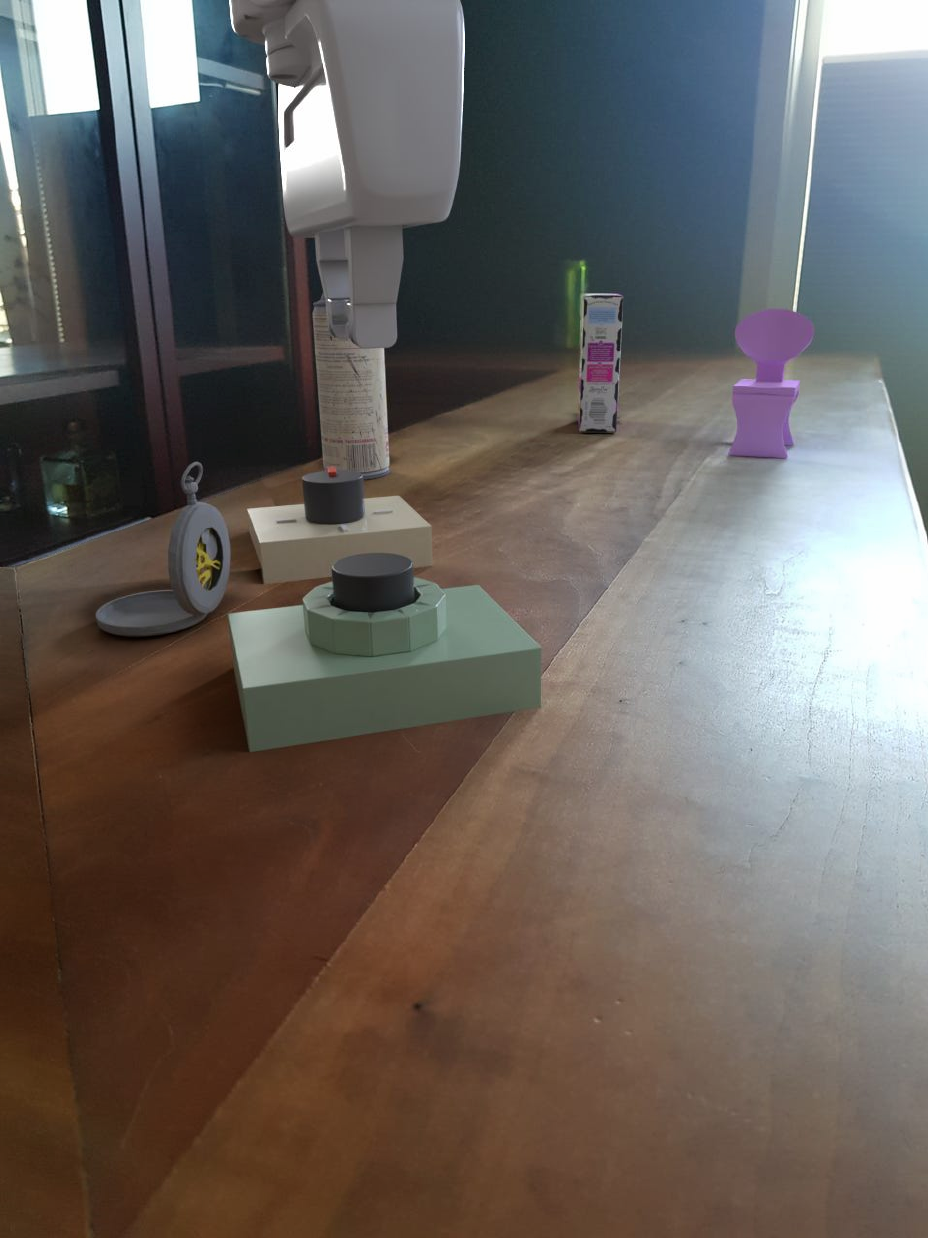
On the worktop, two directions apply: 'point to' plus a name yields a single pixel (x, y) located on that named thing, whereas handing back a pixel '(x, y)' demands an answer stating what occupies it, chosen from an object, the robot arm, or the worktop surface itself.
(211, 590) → the pocket watch
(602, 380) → the candy bar box
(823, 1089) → the worktop surface
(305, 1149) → the worktop surface
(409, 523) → the dial panel
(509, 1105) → the worktop surface
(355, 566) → the black push button
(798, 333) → the toy chair
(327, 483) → the dial
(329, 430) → the aerosol can
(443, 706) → the button base
